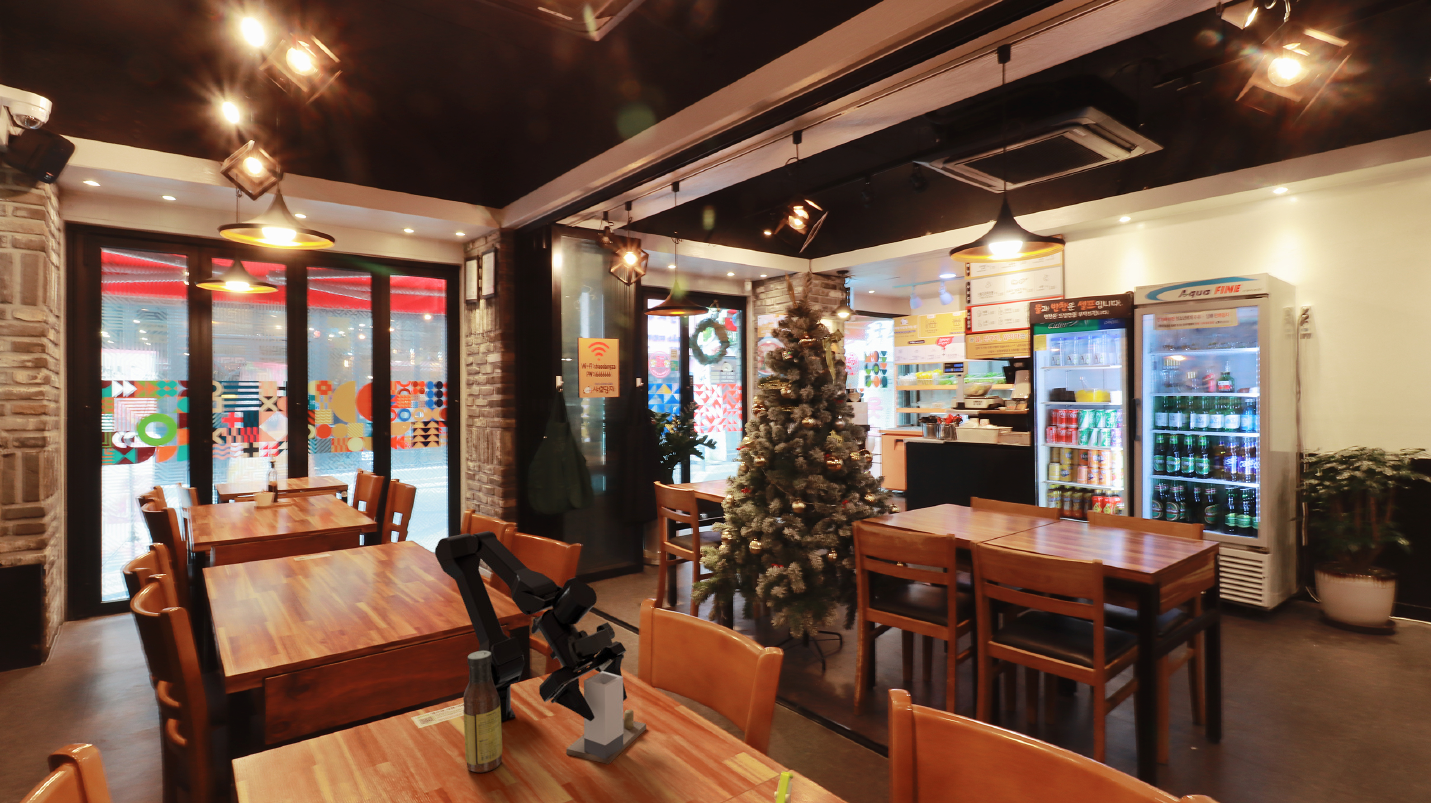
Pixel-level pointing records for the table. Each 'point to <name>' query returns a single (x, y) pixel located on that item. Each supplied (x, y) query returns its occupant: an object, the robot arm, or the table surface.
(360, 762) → the table surface
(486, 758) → the sauce bottle
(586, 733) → the grey sleeve
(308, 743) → the table surface
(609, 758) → the pin board
